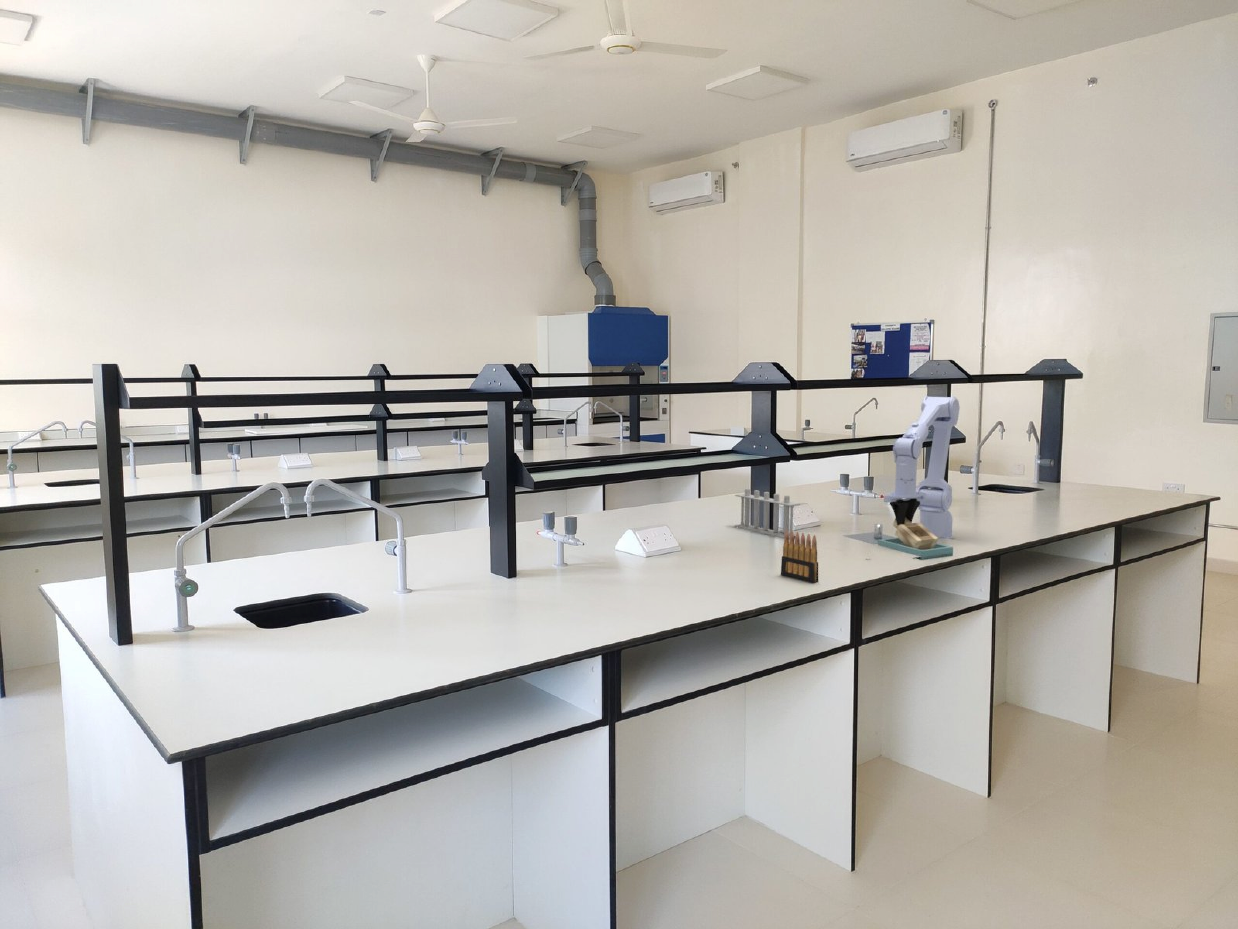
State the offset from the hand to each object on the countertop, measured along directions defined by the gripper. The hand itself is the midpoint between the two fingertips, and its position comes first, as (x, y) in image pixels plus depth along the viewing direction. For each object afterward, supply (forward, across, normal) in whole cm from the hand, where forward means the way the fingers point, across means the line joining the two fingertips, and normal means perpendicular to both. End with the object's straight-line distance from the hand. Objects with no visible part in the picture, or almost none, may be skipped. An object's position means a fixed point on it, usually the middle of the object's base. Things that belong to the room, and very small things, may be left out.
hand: (904, 525), depth 248 cm
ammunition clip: (+8, +49, +14) cm, 52 cm away
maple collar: (+3, 0, +2) cm, 4 cm away
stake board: (+7, 0, -12) cm, 14 cm away
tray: (+7, 0, +4) cm, 8 cm away
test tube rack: (+8, +22, -38) cm, 44 cm away
